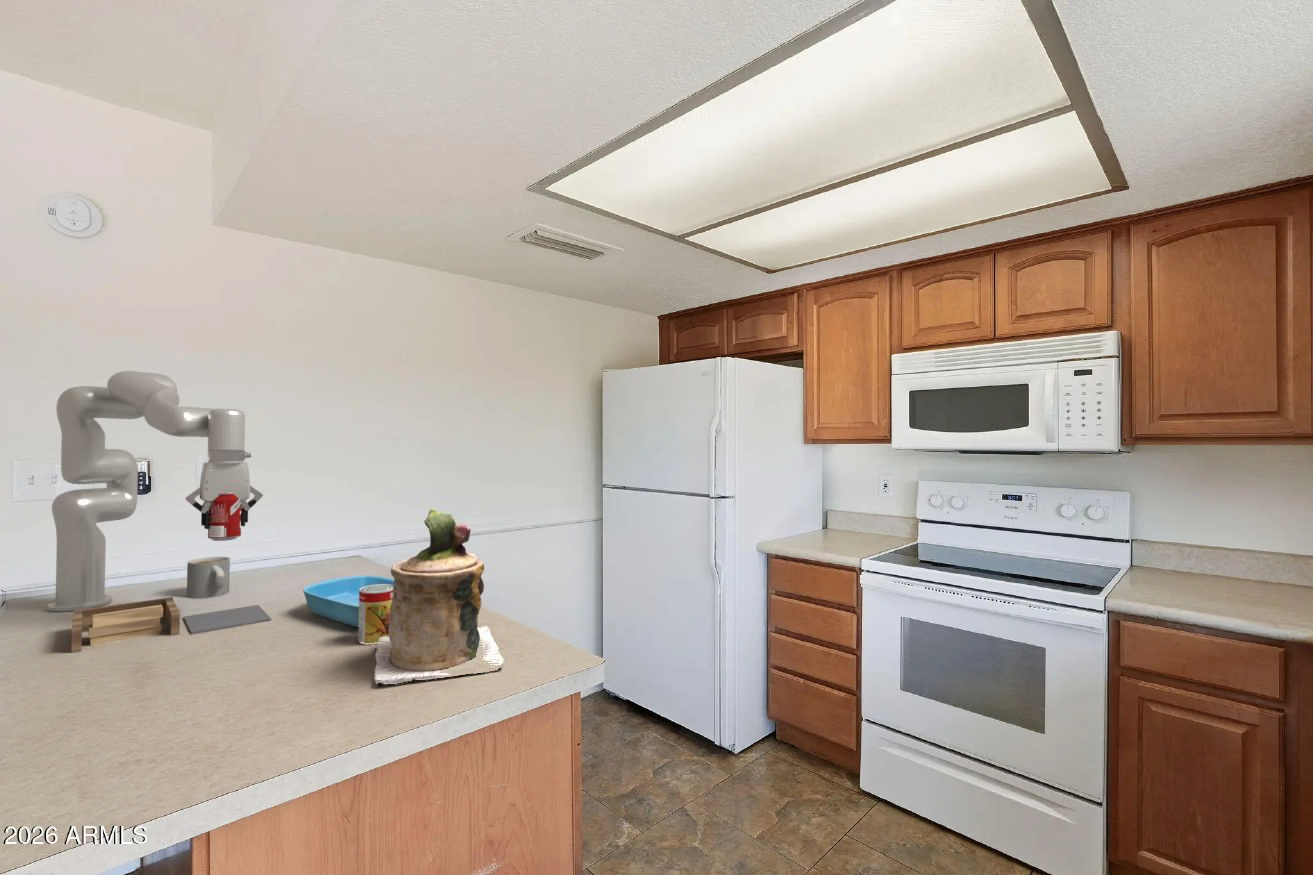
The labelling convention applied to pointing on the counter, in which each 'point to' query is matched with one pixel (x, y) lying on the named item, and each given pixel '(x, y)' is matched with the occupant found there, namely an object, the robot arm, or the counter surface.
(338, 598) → the casserole dish
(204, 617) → the rubber mat
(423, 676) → the cookie jar
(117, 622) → the offcut stack
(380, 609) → the canned food
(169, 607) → the frame
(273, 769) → the counter surface
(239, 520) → the soda can
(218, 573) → the coffee mug
